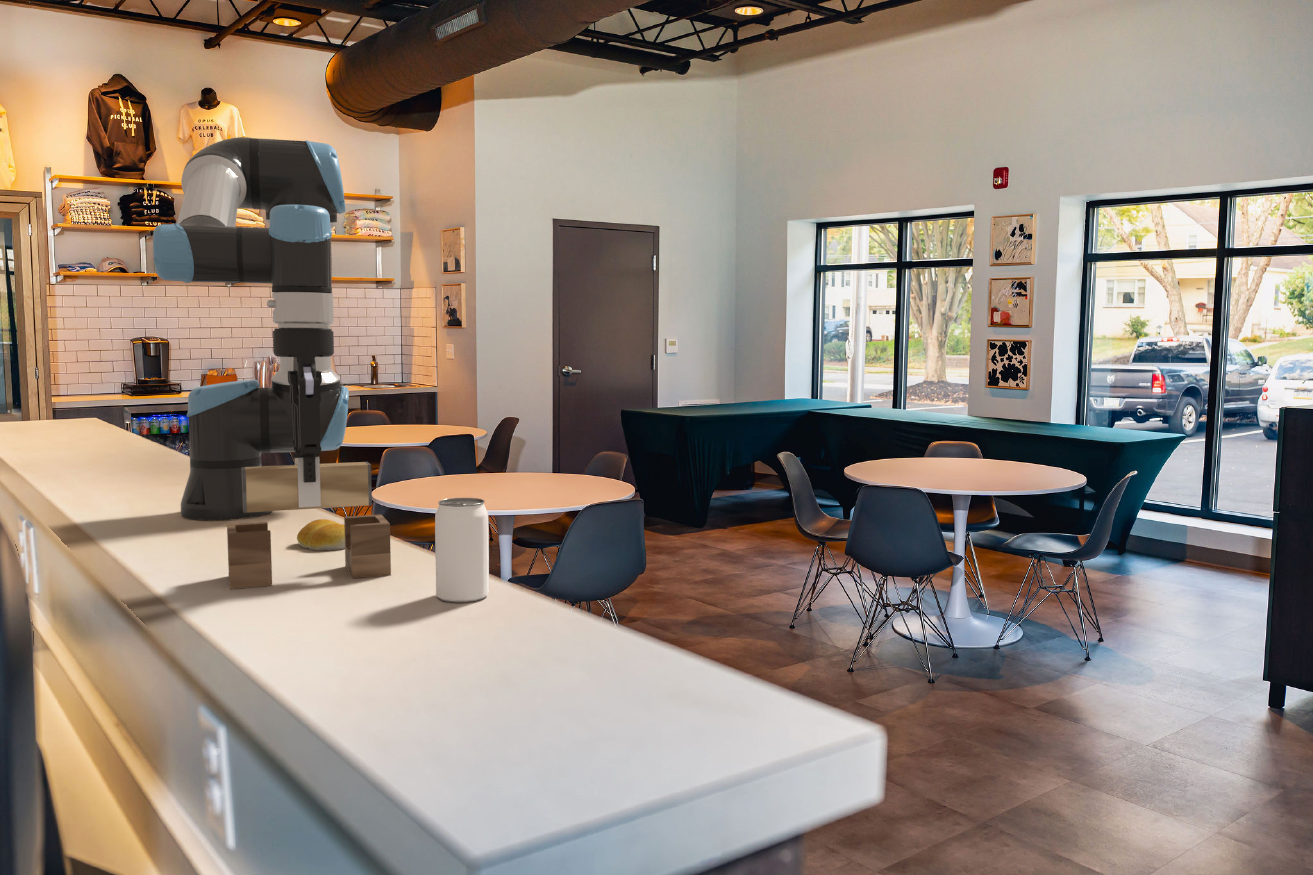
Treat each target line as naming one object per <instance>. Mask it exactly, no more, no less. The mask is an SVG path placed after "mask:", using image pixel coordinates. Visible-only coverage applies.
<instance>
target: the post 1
mask: <svg viewBox="0 0 1313 875" xmlns="http://www.w3.org/2000/svg"><path fill="white" fill-rule="evenodd" d="M268 525H269V523H268V521H259V522H242V523H230V524H229V523H227V524H226V540H227V561H228V562H227V565H228V581H229V590H236V589H237V590H238V589H246V588H247V589H248V588H258V587H271V586H273V567H272V565H273V564H272V563H273V562H272V535H271V534H272V533H271V530H270V529H269V527H268Z"/></svg>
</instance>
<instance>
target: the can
mask: <svg viewBox="0 0 1313 875" xmlns="http://www.w3.org/2000/svg"><path fill="white" fill-rule="evenodd" d="M485 502H486V501H485V500H484V499H482V498H478V497H477V498H476V497H452V498H445V499H441V500H439V501H438V508H437V509H436V512H435V517H434V519H435V520H434V525H435V526H434V532H435V534H434V538H435V540H434V542H435V544H434V545H435V546H434V548H435V555H434V556H435V592H436V593H435V595H436V597H437V598H438V599H439V600H441V601H442V602H446V603H454V604H462V603H463V604H465V603H474V602H477V601H478V602H479V601H481V600H484V599H485V598H486V597H487V596H488V595H489V593H490V592H489V590H490V572H489V571H490V569H489V568H490V566H489V565H490V559H489V557H490V556H489V555H490V553H489V552H490V548H489V546H490V545H489V541H490V539H489V536H490V535H489V512H488V510H487V508H486V506H485Z"/></svg>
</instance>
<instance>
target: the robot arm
mask: <svg viewBox="0 0 1313 875" xmlns="http://www.w3.org/2000/svg"><path fill="white" fill-rule="evenodd" d="M181 189H182V192H183V194H184V195H183V200H182V203H181V207H180V211H179V215H178V218H177V222H176V223H174V222H173V223H172V224H170V223H169V224H159V225H157V226H155V228H154V230H153V235H152V257H153V264H154V269H155V273H156V275H157V276H158V278H159V279H161V280H163V281H170V282H183V283H185V284H188V283H189V284H190V283H227V284H229V283H237V284H238V283H241V284H243V283H244V284H269V285H270V284H271V297H272V299H269V300H267V301H266V306H267V308H271V309H273V310H272V322H273V324H275V325H276V324H277V327H278V328H273V329H274V330H273V331H272V343H273V344H272V349H273V351H272V353H273V355H274V356H276V357H278V358H279V369H278V371H277V372H275V374H273V375H272V376H271V387H261V386H260V385H261V384H260V383H259V380H257V379H246V380H236V381H227V382H220V383H219V382H218V383H212V384H207V385H202V386H198V387H195V388H193V389H192V390H190V392H189V394H188V397H187V413H186V417H187V418H188V419H187V420H188V441H189V443H188V444H189V447H188V448H189V475H188V478H187V481H186V485H185V487H184V488H185V489H184V491H183V495H182V498H181V501H180V515H181V517H183V518H185V519H190V520H199V521H201V520H202V521H219V520H220V521H222V520H223V521H224V520H239V519H246V518H253V517H259V516H262V515H268V514H271V513H273V511H265V512H248V513H244V512H243V499H242V470H241V467H260V466H262V454H264V453H266V454H268V453H292V459H294V465H297V470H298V504H299V508H301V507H318V506H321V496H320V464H321V463H320V455H321V453H322V452H323V451H324V452H325V451H326V452H327V451H335V450H338V449H340V447H342V444H343V442H344V440H345V434H346V429H347V422H348V420H347V419H348V412H349V399H350V396H349V394H350V392H349V387H347V386H344V385H341V377H340V375H339V374H337V372H335V371H334V370H333V368H332V357H333V356H334V354H335V348H334V346H335V345H334V344H335V343H334V342H335V338H334V335H335V334H334V331H333V330H332V328H331V325H332V324H333V323H334V322H335V319H334V293H333V287H332V285H333V284H332V276H333V275H332V274H333V272H332V270H333V269H332V266H333V264H332V237H333V231H332V230H333V228H335V227H336V225H338V214H339V215H341V214H344V213H345V212H346V202H345V201H346V200H345V193H344V185H343V178H342V172H341V166H340V162H339V157H338V153H337V151H336V149H335V147H333V146H332V145H331V144H329V143H324V142H317V141H310V140H307V139H306V140H294V139H293V140H291V139H277V138H276V139H275V138H257V137H256V138H254V137H248V136H247V137H245V136H243V137H241V136H239V137H231V138H227V139H223V140H222V139H221V140H220V141H217V142H214V143H212V144H210V145H208V146H206V147H204V148H203V149H200V150H199V151H197V152H196V153H195V154H194V155H193V156H192V157H190V158H189V159H188V161H187V162H186V164H185V166H184V168H183V172H182V175H181ZM238 209H246V210H247V209H250V210H251V209H252V210H262V211H263V210H264V211H265V222H266V223H267V224H269V226H268V227H249V226H248V227H245V226H244V227H243V226H242V227H241V226H236V225H237V224H236V223H237V218H238V216H237V215H238Z"/></svg>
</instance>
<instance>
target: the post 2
mask: <svg viewBox="0 0 1313 875" xmlns="http://www.w3.org/2000/svg"><path fill="white" fill-rule="evenodd" d="M343 520H344V522H343V523H344V524H343V525H344V529H345V549H344V560H345V563H344V564H345V568H346V570H347V571H348V573H349V575H350V576H351V578H352V579H359V578H360V579H363V578H373V577H381V576H382V577H383V576H391V575H392V569H391V568H392V561H391V559H392V558H391V557H392V556H391V523H390V522H389V521H388V520H387V519H386V518H385V517H384V516H383V515H382V514H381V513H379V514H369V515H368V514H367V515H366V514H365V515H352V516H351V515H350V516H343Z"/></svg>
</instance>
